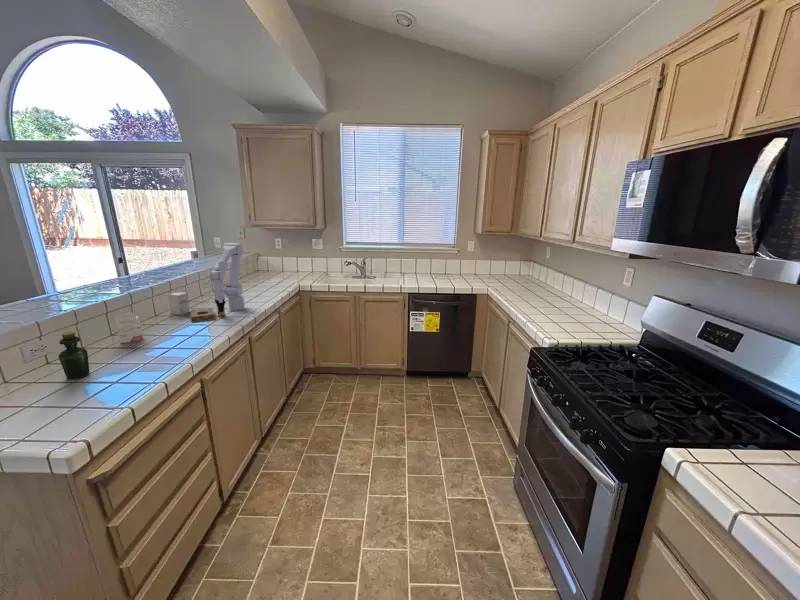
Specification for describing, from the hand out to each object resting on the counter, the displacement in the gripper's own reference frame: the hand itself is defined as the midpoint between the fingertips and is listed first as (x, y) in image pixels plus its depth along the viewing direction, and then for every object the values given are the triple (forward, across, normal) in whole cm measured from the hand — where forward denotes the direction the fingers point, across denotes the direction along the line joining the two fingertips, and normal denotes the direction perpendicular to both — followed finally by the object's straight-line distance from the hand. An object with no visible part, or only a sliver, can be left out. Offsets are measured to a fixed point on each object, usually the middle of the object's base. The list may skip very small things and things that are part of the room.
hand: (221, 311), depth 206 cm
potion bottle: (+4, +58, -55) cm, 80 cm away
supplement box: (+4, -19, -22) cm, 29 cm away
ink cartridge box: (+4, +23, -42) cm, 48 cm away
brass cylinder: (+3, 0, 0) cm, 3 cm away
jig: (+3, -4, -10) cm, 11 cm away
